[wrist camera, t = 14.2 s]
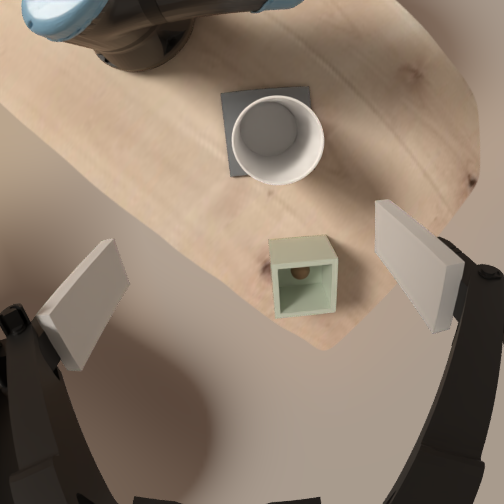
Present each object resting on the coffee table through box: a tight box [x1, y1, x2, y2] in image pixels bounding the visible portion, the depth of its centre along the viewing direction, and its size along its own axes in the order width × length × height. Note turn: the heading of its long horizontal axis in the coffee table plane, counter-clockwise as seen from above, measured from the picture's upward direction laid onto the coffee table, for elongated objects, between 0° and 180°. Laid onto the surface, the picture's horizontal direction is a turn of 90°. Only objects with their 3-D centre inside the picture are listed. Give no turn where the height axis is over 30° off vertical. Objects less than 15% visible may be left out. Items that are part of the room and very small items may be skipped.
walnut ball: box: [291, 266, 310, 280], centre depth 48 cm, size 3×3×3 cm
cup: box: [232, 96, 324, 185], centre depth 33 cm, size 8×8×16 cm
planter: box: [268, 235, 338, 319], centre depth 47 cm, size 9×9×8 cm
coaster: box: [221, 87, 315, 177], centre depth 41 cm, size 12×12×1 cm
